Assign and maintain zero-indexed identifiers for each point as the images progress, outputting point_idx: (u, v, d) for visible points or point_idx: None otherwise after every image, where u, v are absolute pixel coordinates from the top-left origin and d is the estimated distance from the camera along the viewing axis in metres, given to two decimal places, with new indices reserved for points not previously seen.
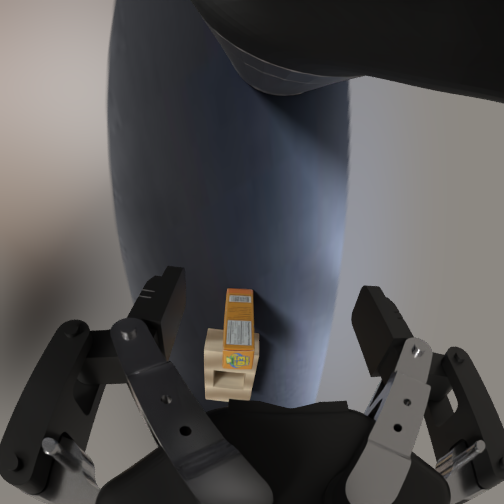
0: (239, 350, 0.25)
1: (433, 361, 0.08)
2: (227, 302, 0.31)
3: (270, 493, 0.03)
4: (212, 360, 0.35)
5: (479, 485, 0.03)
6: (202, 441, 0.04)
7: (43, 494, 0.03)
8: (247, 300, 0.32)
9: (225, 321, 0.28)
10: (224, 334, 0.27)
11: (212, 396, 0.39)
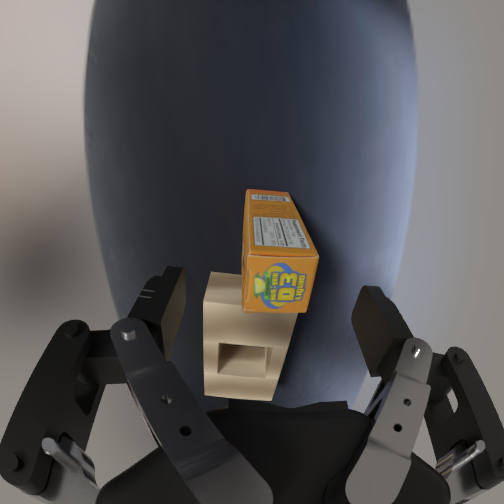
0: (286, 256, 0.11)
1: (433, 361, 0.08)
2: (248, 200, 0.17)
3: (270, 493, 0.03)
4: (218, 322, 0.21)
5: (479, 485, 0.03)
6: (202, 441, 0.04)
7: (43, 494, 0.03)
8: (282, 199, 0.18)
9: (248, 218, 0.15)
10: (248, 233, 0.13)
11: (215, 390, 0.26)
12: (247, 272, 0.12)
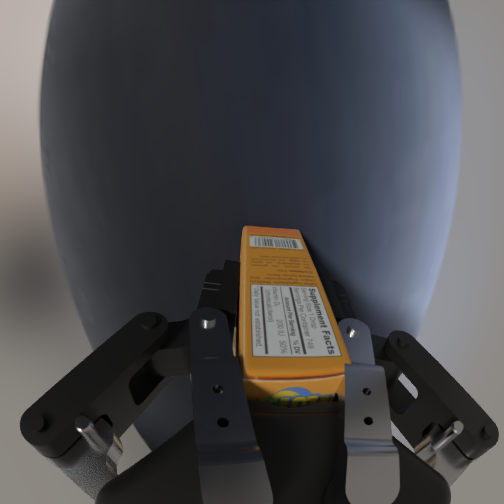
0: (303, 376, 0.06)
1: (374, 344, 0.09)
2: (245, 248, 0.13)
3: None
4: None
5: (468, 458, 0.04)
6: (234, 437, 0.05)
7: (56, 460, 0.04)
8: (292, 244, 0.13)
9: (244, 287, 0.10)
10: (243, 323, 0.08)
11: None
12: None
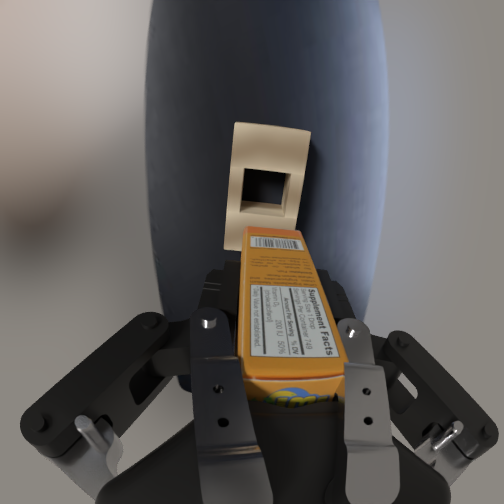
0: (301, 377, 0.06)
1: (374, 344, 0.09)
2: (246, 248, 0.13)
3: None
4: (245, 144, 0.24)
5: (468, 457, 0.04)
6: (234, 437, 0.05)
7: (56, 460, 0.04)
8: (293, 245, 0.13)
9: (243, 288, 0.10)
10: (242, 323, 0.08)
11: (235, 240, 0.29)
12: None
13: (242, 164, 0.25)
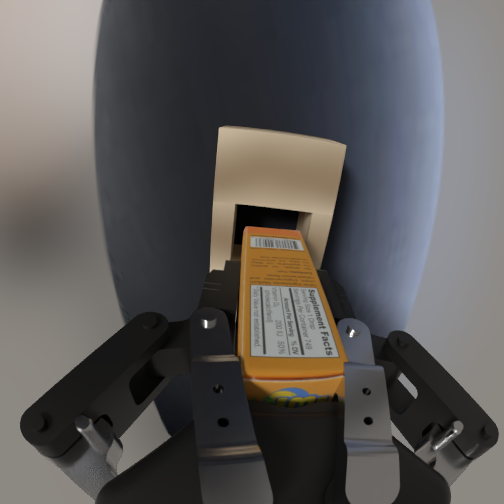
0: (300, 377, 0.06)
1: (374, 344, 0.09)
2: (246, 248, 0.13)
3: None
4: (237, 164, 0.15)
5: (468, 458, 0.04)
6: (234, 437, 0.05)
7: (56, 460, 0.04)
8: (293, 245, 0.13)
9: (243, 288, 0.10)
10: (242, 323, 0.08)
11: None
12: None
13: (232, 198, 0.16)
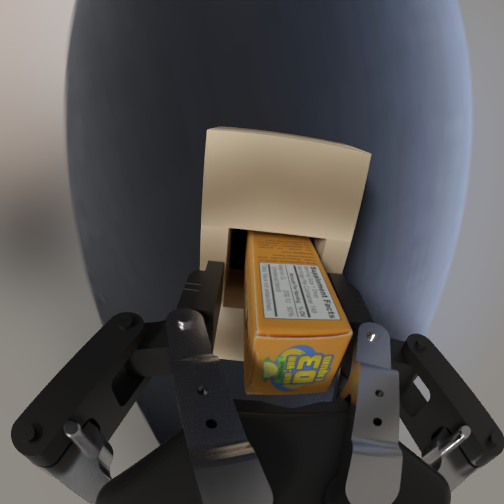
0: (308, 335, 0.08)
1: (392, 347, 0.09)
2: (252, 233, 0.14)
3: (271, 501, 0.03)
4: (230, 177, 0.11)
5: (473, 465, 0.04)
6: (224, 437, 0.05)
7: (50, 469, 0.04)
8: None
9: (253, 265, 0.11)
10: (254, 293, 0.09)
11: (218, 346, 0.16)
12: (253, 354, 0.08)
13: (225, 221, 0.12)
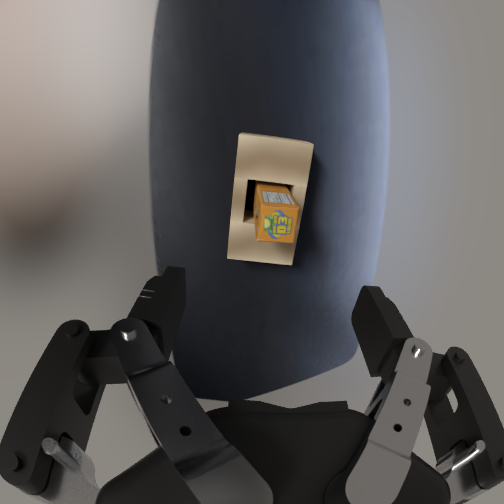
0: (281, 206, 0.21)
1: (433, 361, 0.08)
2: (258, 184, 0.27)
3: (270, 493, 0.03)
4: (249, 155, 0.25)
5: (479, 485, 0.03)
6: (202, 441, 0.04)
7: (43, 494, 0.03)
8: (279, 184, 0.28)
9: (259, 192, 0.25)
10: (260, 198, 0.23)
11: (238, 250, 0.29)
12: (260, 216, 0.22)
13: (246, 175, 0.26)
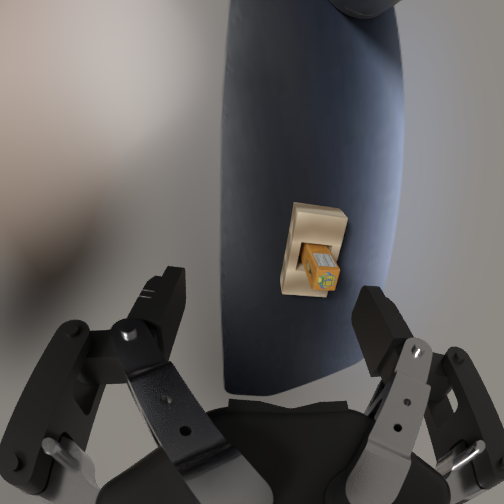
0: (329, 269, 0.33)
1: (433, 361, 0.08)
2: (307, 243, 0.39)
3: (270, 493, 0.03)
4: (303, 226, 0.36)
5: (479, 485, 0.03)
6: (202, 441, 0.04)
7: (43, 494, 0.03)
8: None
9: (311, 254, 0.36)
10: (314, 261, 0.35)
11: (290, 288, 0.41)
12: (316, 275, 0.33)
13: (300, 239, 0.37)
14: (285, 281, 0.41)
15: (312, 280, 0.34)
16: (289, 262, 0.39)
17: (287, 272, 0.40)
